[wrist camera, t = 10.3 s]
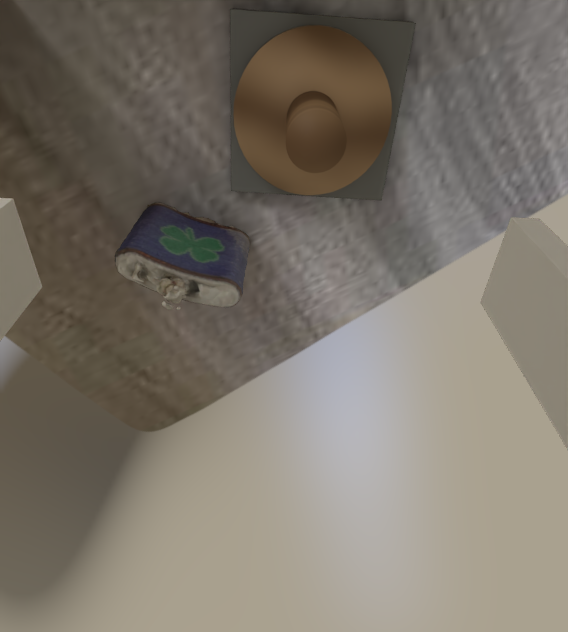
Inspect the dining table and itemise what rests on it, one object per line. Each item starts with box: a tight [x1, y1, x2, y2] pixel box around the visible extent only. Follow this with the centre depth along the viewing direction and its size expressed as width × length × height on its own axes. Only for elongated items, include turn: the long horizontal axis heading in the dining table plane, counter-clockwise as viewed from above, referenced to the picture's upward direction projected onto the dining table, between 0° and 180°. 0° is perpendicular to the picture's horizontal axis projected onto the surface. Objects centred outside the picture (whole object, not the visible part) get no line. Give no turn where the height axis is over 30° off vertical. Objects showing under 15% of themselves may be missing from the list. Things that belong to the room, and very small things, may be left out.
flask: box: [115, 202, 250, 310], centre depth 35 cm, size 9×3×11 cm, turn 70°
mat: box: [230, 9, 416, 200], centre depth 33 cm, size 12×12×1 cm
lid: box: [233, 25, 392, 195], centre depth 30 cm, size 11×11×7 cm
